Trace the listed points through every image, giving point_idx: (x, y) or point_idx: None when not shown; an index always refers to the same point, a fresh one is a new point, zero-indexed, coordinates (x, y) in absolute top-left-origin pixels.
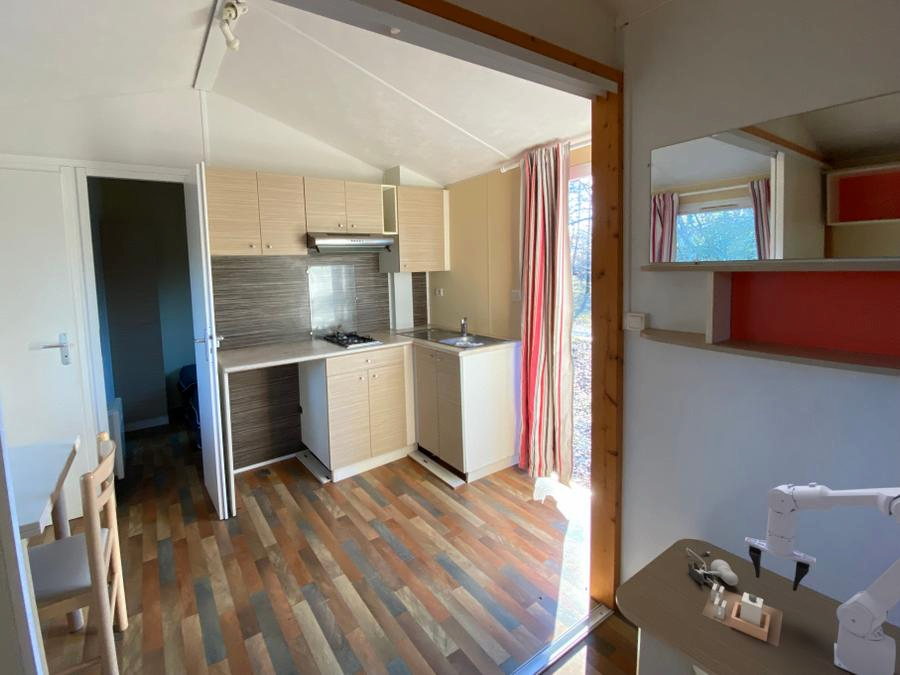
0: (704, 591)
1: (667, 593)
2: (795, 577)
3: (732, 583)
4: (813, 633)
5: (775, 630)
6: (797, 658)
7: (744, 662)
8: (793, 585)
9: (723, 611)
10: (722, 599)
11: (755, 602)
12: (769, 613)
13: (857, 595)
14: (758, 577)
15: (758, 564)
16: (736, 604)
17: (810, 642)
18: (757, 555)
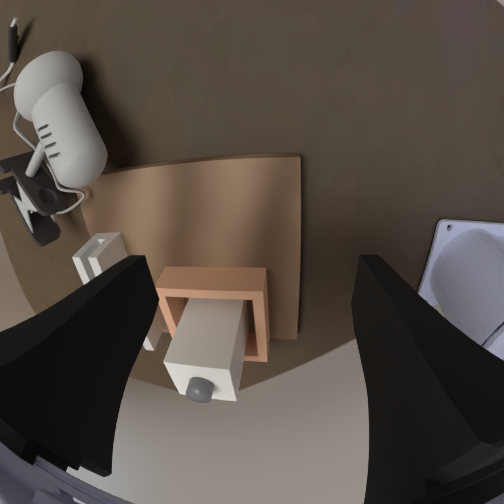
0: (77, 210)
1: (54, 280)
2: (371, 415)
3: (97, 177)
4: (393, 195)
5: (286, 286)
6: (338, 327)
7: (244, 380)
8: (357, 341)
9: (156, 340)
10: (121, 255)
11: (214, 389)
12: (256, 207)
13: None
14: (154, 305)
15: (117, 399)
16: (162, 301)
17: (379, 249)
18: (94, 472)
